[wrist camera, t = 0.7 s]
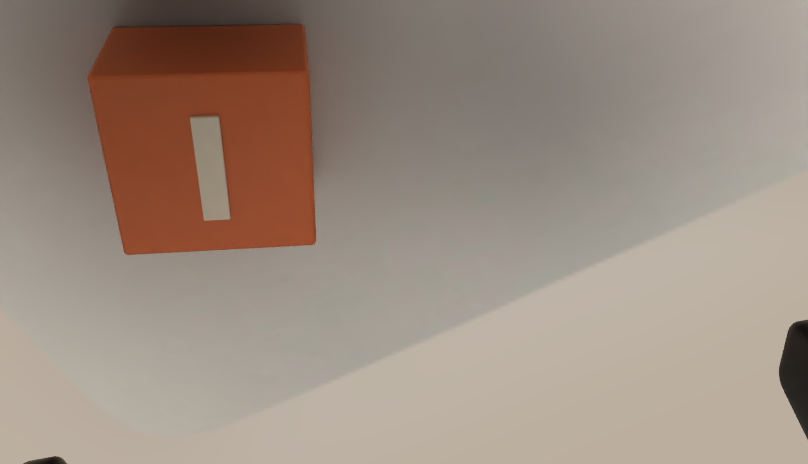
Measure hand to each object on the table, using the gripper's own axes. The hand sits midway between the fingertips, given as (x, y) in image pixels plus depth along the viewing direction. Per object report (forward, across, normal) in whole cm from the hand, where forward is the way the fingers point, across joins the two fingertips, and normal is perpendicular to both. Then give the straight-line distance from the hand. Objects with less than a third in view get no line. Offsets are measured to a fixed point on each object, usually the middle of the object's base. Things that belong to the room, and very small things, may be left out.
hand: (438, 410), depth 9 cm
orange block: (+12, +4, +1) cm, 13 cm away
